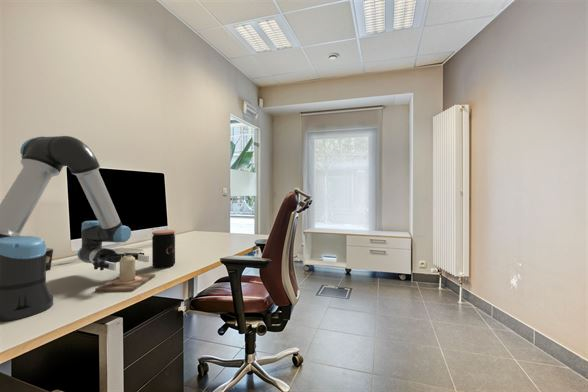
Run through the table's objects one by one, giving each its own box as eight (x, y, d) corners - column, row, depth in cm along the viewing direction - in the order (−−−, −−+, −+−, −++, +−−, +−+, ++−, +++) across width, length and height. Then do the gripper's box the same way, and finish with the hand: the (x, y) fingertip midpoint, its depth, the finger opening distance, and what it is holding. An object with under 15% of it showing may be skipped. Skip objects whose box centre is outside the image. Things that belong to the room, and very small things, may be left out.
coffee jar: (169, 268, 133) (169, 232, 133) (148, 268, 133) (147, 232, 133) (178, 263, 143) (178, 229, 143) (159, 263, 144) (158, 229, 143)
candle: (128, 282, 108) (127, 257, 108) (116, 281, 109) (116, 257, 109) (138, 278, 113) (138, 254, 113) (127, 277, 114) (127, 254, 114)
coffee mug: (53, 267, 136) (52, 247, 136) (54, 270, 130) (53, 250, 130) (20, 271, 128) (20, 251, 128) (19, 275, 122) (19, 253, 122)
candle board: (132, 291, 102) (132, 287, 102) (95, 291, 102) (95, 287, 102) (155, 276, 120) (155, 273, 120) (123, 277, 120) (123, 273, 120)
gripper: (131, 259, 130) (159, 264, 121) (70, 272, 108) (98, 280, 98) (131, 243, 130) (159, 248, 120) (69, 254, 108) (98, 260, 98)
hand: (132, 262), depth 109 cm, fingers open, 13 cm apart
